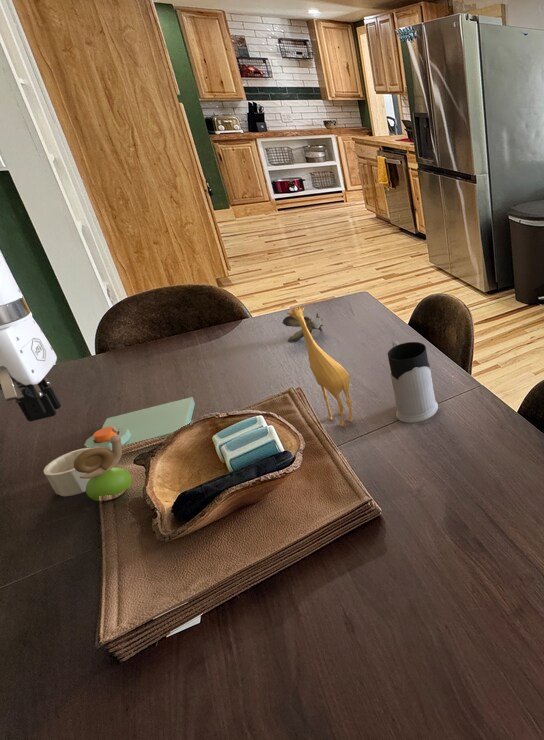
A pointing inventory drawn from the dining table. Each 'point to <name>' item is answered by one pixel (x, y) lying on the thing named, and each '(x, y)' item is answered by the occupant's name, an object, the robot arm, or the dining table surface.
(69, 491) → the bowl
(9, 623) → the dining table surface
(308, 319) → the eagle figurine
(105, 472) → the snail figurine
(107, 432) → the button
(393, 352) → the glass holder
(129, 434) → the scale
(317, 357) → the giraffe
